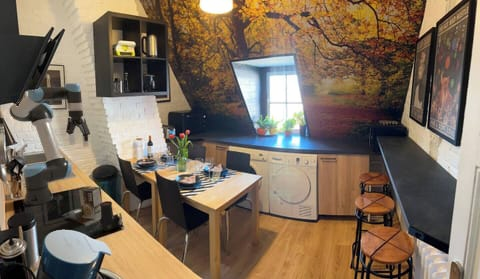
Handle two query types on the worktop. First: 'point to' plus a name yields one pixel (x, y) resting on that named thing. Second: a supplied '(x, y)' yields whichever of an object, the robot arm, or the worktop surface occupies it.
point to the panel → (83, 219)
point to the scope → (109, 216)
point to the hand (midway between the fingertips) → (79, 145)
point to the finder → (75, 214)
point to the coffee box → (91, 202)
